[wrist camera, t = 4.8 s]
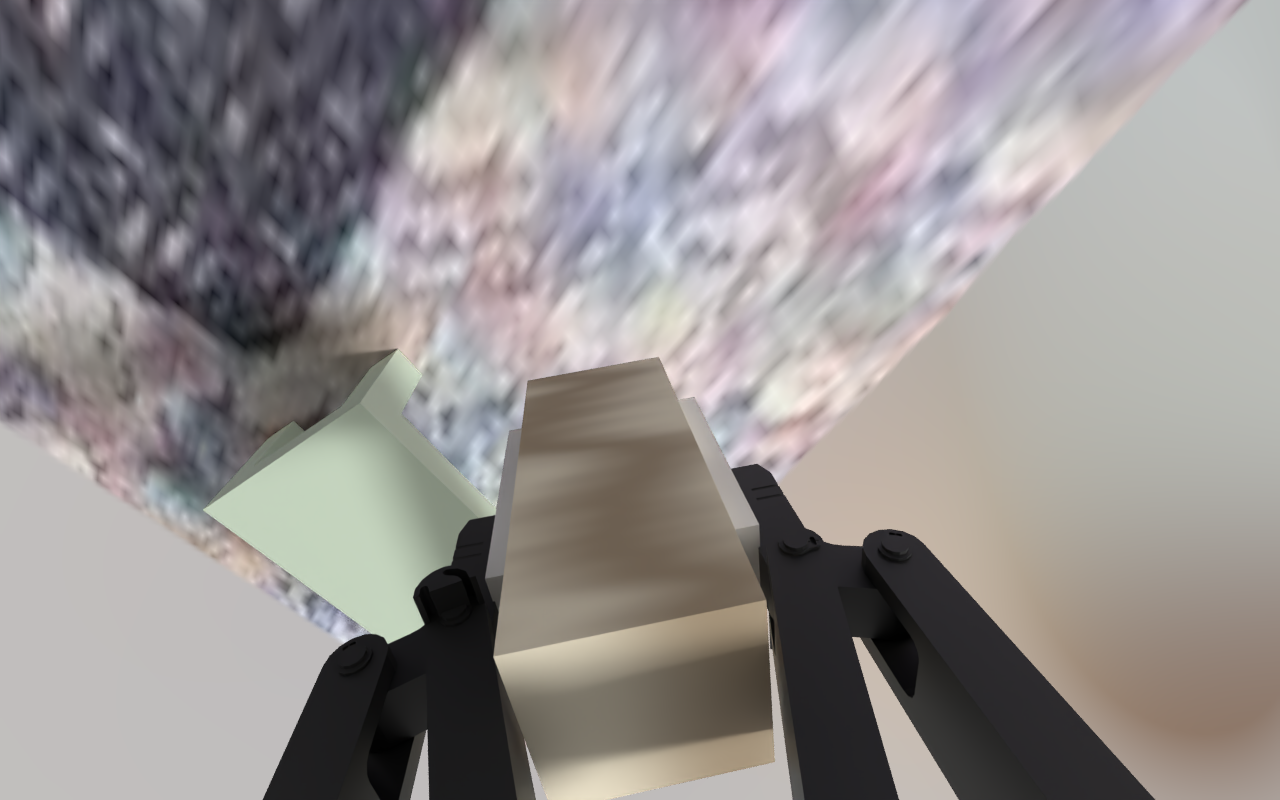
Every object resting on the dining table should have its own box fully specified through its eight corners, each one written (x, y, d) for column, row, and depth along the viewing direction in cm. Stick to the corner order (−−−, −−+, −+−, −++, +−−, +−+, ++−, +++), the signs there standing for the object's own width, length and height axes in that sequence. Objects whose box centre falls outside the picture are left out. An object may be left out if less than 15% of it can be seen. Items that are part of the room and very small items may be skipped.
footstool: (268, 438, 33) (202, 510, 27) (397, 348, 32) (359, 403, 26) (466, 606, 41) (450, 691, 35) (577, 540, 40) (581, 616, 34)
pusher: (613, 716, 27) (645, 1056, 17) (527, 380, 19) (493, 656, 9) (704, 697, 27) (787, 1020, 17) (658, 357, 19) (766, 599, 9)
